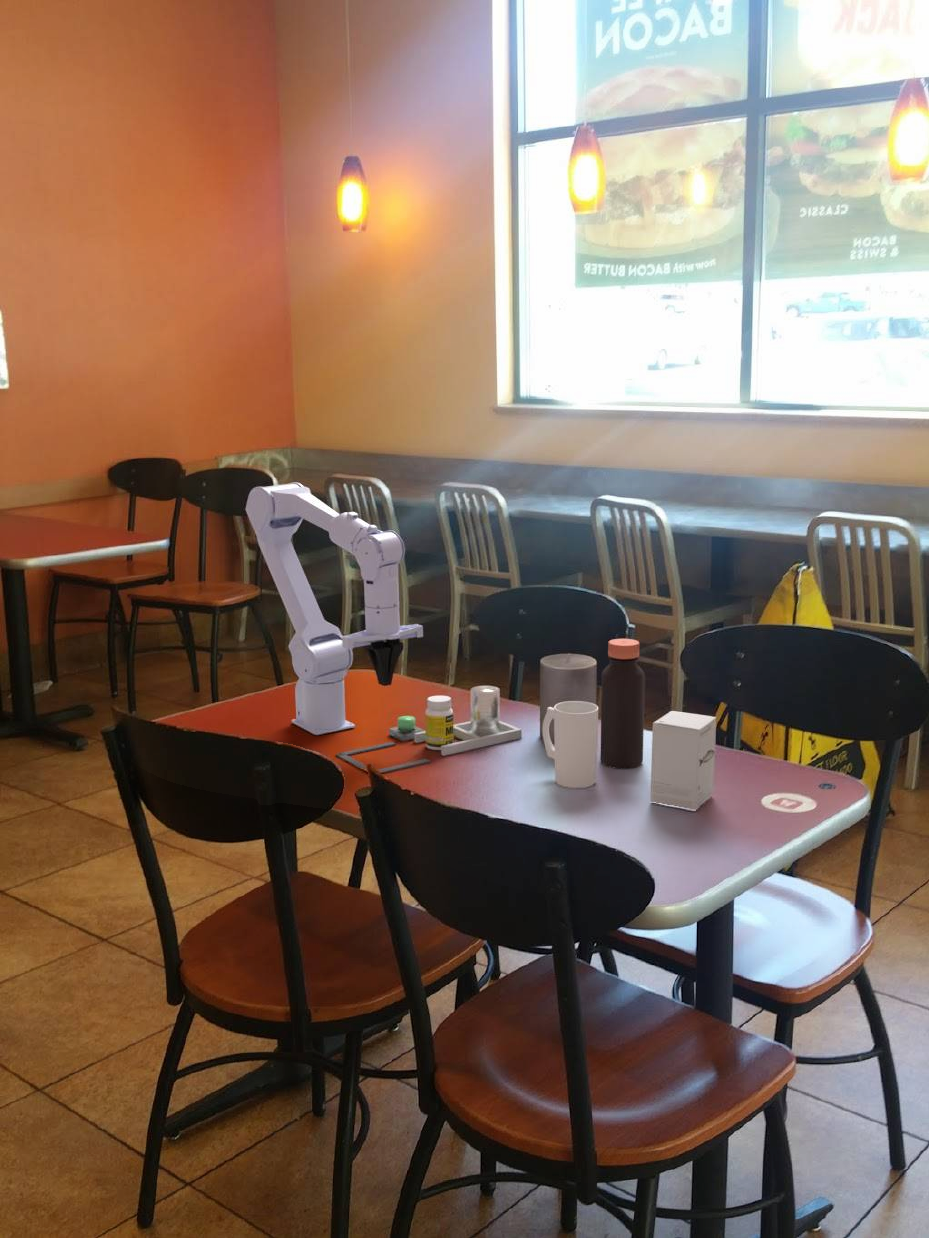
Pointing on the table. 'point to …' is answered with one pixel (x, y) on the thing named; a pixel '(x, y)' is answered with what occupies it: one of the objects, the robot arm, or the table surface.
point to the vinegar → (622, 706)
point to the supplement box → (683, 759)
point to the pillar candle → (565, 683)
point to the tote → (346, 754)
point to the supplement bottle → (439, 722)
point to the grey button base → (403, 733)
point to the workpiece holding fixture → (473, 737)
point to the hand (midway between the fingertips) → (384, 684)
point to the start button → (406, 723)
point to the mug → (573, 742)
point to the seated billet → (485, 710)
